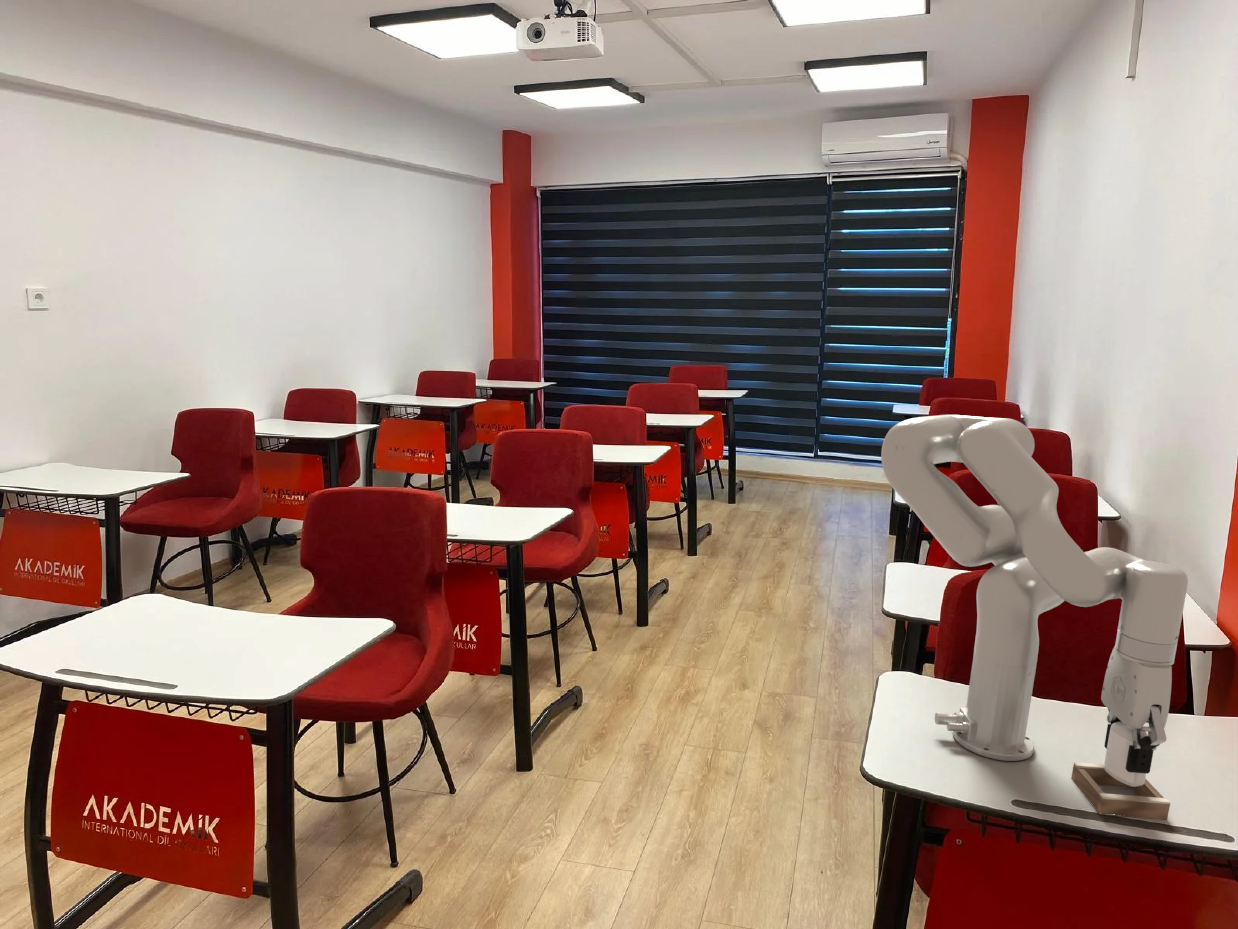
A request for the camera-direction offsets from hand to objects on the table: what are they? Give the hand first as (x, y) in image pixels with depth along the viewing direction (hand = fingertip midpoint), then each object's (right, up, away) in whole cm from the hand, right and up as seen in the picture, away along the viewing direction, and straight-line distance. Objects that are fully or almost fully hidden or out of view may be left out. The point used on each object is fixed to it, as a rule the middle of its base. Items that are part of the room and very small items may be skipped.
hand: (1126, 759), depth 130 cm
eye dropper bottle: (0, -3, +1) cm, 3 cm away
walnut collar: (0, -6, +2) cm, 7 cm away
